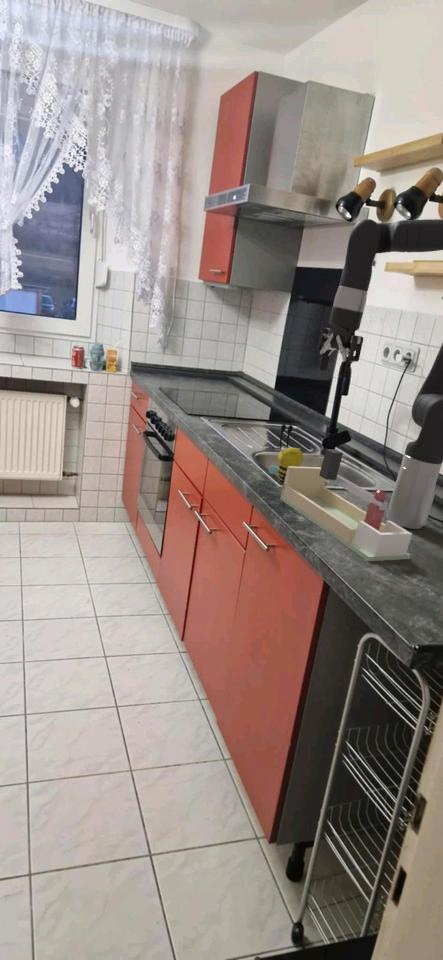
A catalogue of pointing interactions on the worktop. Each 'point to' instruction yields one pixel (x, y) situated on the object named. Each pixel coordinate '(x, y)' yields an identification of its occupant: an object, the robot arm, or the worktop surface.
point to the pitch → (342, 517)
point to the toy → (286, 457)
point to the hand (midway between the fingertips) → (332, 373)
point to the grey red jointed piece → (354, 488)
